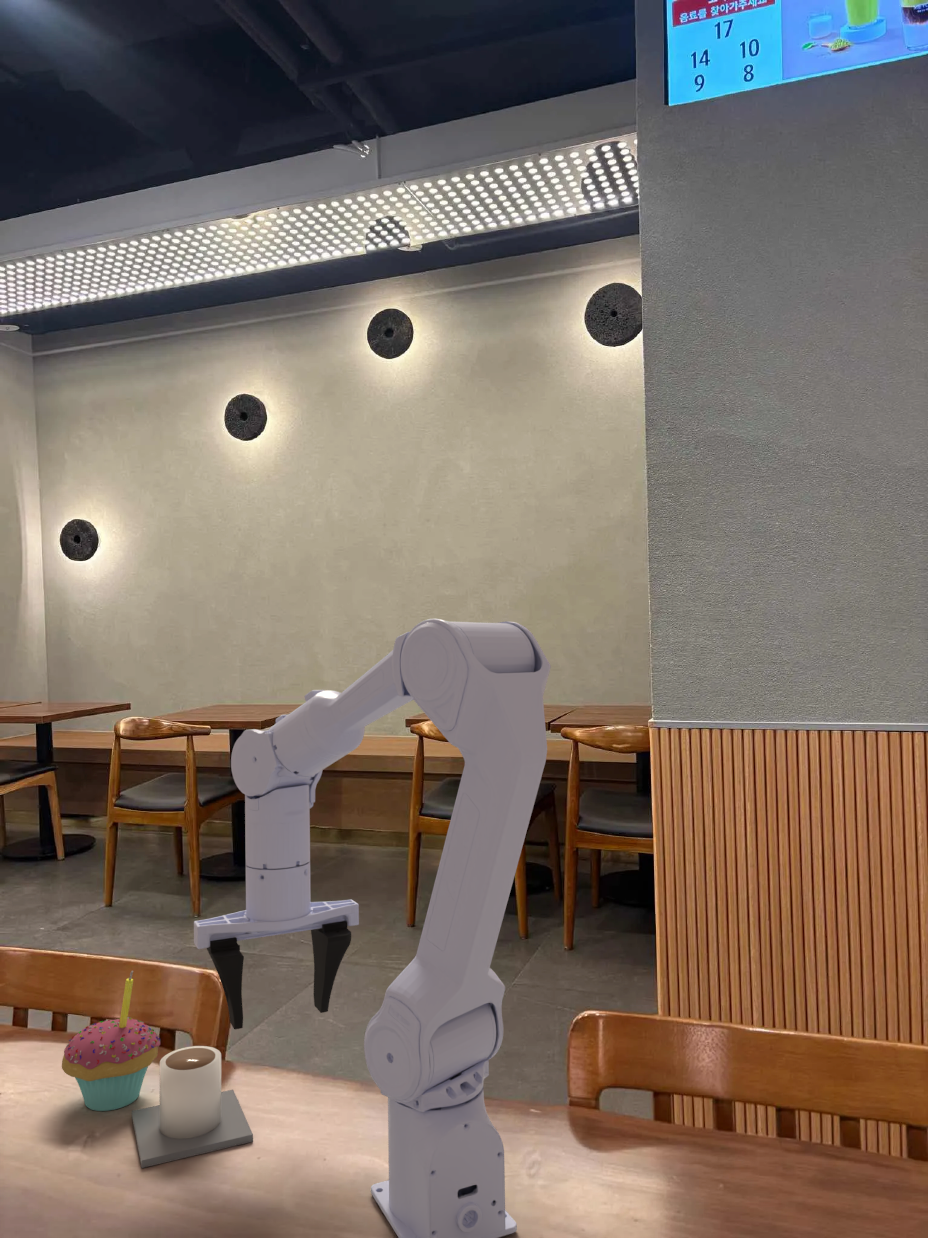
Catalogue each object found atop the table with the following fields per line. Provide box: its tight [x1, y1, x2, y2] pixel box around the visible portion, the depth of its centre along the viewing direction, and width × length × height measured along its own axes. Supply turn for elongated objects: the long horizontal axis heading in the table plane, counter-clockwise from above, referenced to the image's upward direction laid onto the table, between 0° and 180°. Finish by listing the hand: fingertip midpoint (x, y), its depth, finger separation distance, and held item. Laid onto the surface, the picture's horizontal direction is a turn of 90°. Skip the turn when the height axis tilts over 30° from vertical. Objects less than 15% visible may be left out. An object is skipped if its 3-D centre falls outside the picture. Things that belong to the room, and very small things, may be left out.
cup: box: [159, 1045, 222, 1139], centre depth 79 cm, size 5×5×6 cm
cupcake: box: [61, 970, 161, 1112], centre depth 85 cm, size 9×8×12 cm
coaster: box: [131, 1089, 254, 1169], centre depth 79 cm, size 9×9×1 cm
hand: (279, 1016), depth 80 cm, fingers open, 7 cm apart
